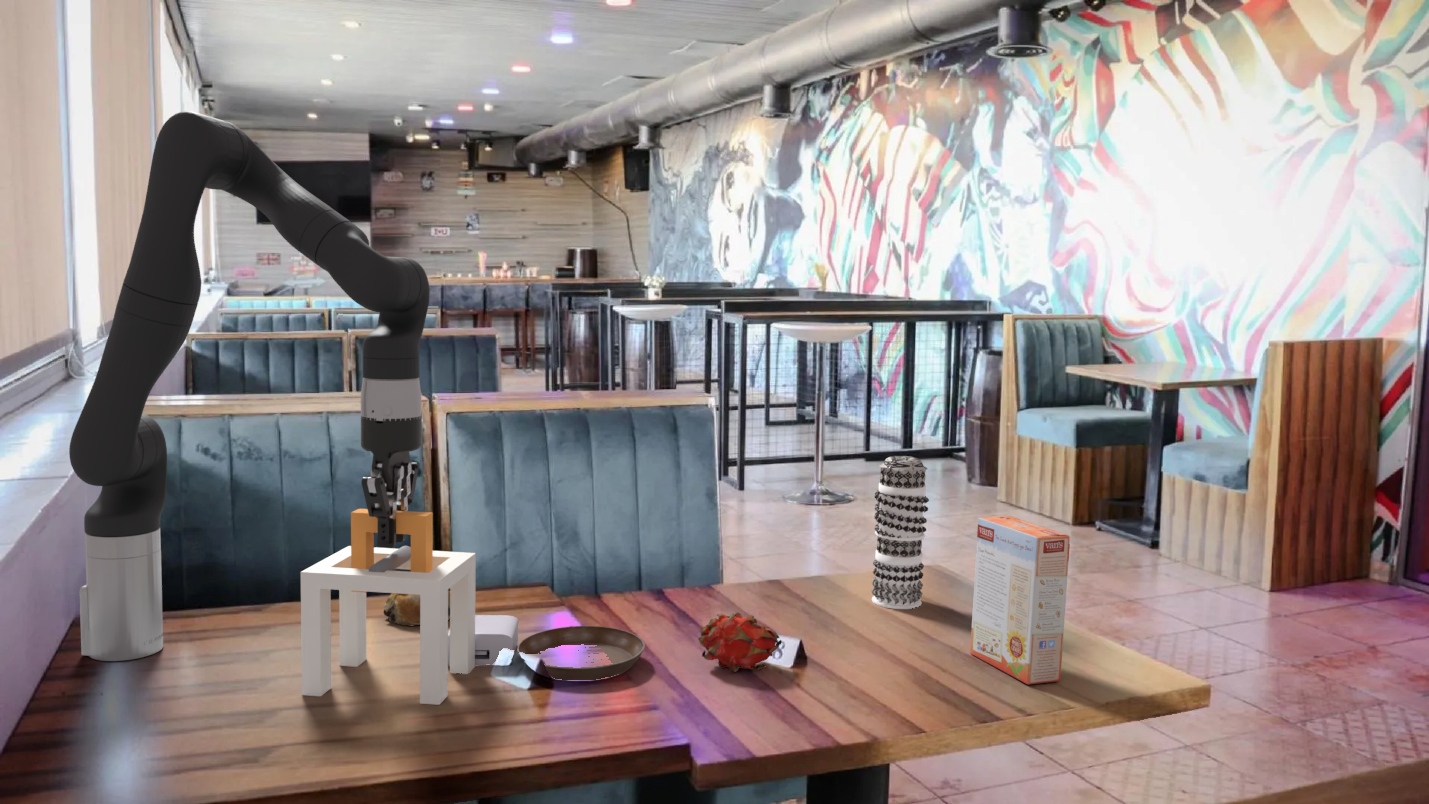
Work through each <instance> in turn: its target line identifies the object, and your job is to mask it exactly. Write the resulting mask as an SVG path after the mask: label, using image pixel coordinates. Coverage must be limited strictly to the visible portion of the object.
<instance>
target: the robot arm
mask: <svg viewBox="0 0 1429 804" xmlns="http://www.w3.org/2000/svg"><path fill="white" fill-rule="evenodd" d="M154 144H155V145H154V149H153V153H152V160H151V166H150V171H149V176H148V177H149V178H148V182H147V188H146V190H147V191H146V194H145V201H144V205H143V209H142V210H143V211H142V215H141V219H140V223H139V226H138V230H137V235H136V238H135V242H134V246H133V250H132V252H131V253H132V254H131V258H130V261H129V264H128V268H127V271H126V273H125V276H124V279H123V283H122V286H121V289H120V293H119V296H118V299H117V304H116V306H115V311H114V313H113V314H114V315H113V319H112V324H111V327H110V329H109V333H108V336H107V340H106V343H105V346H104V349H103V353H102V355H101V356H102V357H101V358H100V363H99V367H98V369H97V372H96V375H95V379H94V381H93V384H92V386H91V389H90V391H89V392H88V396H87V398H86V400H85V403H84V406H83V408H82V411H81V412H80V415H79V417H78V420H77V422H76V424H75V427H74V428H73V429H74V430H73V432H72V435H71V437H70V442H69V448H68V449H69V454H68V455H69V461H70V465H71V468H72V469H73V472H74V473H75V475H76V476H77V478H79V479H80V480H81V481H82V482H84V483H86V484H88V485H91V486H95V487H101V490H100V493H99V495H98V497H97V499H96V500H95V502H94V503H93V504H92V505H91V506H90V507H89V508H88V509H87V510H86V512H85V514H84V517H83V519H84V520H83V521H84V523H83V525H84V528H83V530H84V549H85V550H84V551H85V581H86V582H85V583H86V584H84V585H83V586H80V588H79V618H80V643H81V645H80V650H81V655H82V656H88V657H89V658H91V659H93V660H96V661H102V662H121V661H123V662H124V661H131V660H135V659H141V658H144V657H145V658H146V657H149V656H151V655H155V654H156V653H158V652H160V651H161V650H162V649H163V647H164V632H163V631H164V630H163V628H164V627H163V620H164V619H163V589H162V588H163V585H162V582H163V581H162V578H163V577H162V547H161V544H162V543H161V540H162V538H161V516H162V513H163V511H164V509H165V505H166V500H167V481H168V480H167V478H168V477H167V476H168V475H167V474H168V449H167V442H166V437H165V434H164V432H163V430H162V428H161V426H160V425H159V423H158V422H157V420H155V419H154V418H152V417H151V416H150V415H148V414H146V413H144V409H145V406H146V402H147V400H148V398H149V395H150V393H151V391H152V390H153V388H154V386H155V385H156V383H157V382H158V380H159V379H160V377H161V375H163V373H164V371H166V369H167V368H168V367H169V365H170V364H171V362H172V361H173V359H174V358H175V357H176V355H177V354H178V353H179V352H180V350H181V348H182V346H183V345H184V343H185V341H186V340H187V337H188V335H189V332H190V329H191V328H192V324H193V321H194V318H195V314H196V311H197V307H198V304H199V301H200V297H201V291H202V278H201V277H202V275H201V267H200V263H199V260H198V259H199V258H198V254H197V250H196V249H197V248H196V243H195V224H196V223H195V222H196V217H197V214H198V210H199V206H200V203H201V200H202V196H203V194H204V192H205V189H209V190H219V191H220V190H221V191H223V192H226V193H227V194H228V193H229V194H230V195H232V196H235V197H236V198H239V199H240V200H242V201H245V202H247V203H248V204H250V205H251V206H253V207H255V208H256V209H257V210H259V212H261V213H262V214H263V215H265V217H266V218H267V220H269V221H270V222H271V224H272V225H273V226H274V228H275V229H276V231H277V232H278V233H279V235H281V237H282V238H283V239H284V240H285V241H286V242H287V243H288V244H289V245H290V246H292V247H293V248H294V249H295V250H296V251H297V252H299V253H300V254H301V255H303V256H304V257H306V258H307V259H309V260H310V261H311V262H313V263H314V264H315V265H316V266H318V267H319V268H321V269H322V270H324V271H326V272H327V273H328V274H329V275H330V277H331V278H332V279H333V281H334V282H335V283H336V284H337V285H338V286H339V287H340V288H341V290H342V291H343V292H344V293H345V295H347V296H348V298H350V299H351V300H352V301H353V302H355V303H356V304H358V305H359V306H361V307H362V308H364V309H367V310H368V311H371V312H375V313H379V314H378V320H377V324H376V325H377V326H376V328H375V329H374V330H373V331H371V332H370V333H367V335H366V336H365V337H364V339H363V343H362V385H361V390H360V447H361V449H362V450H364V451H367V452H371V454H372V455H373V456H372V461H371V468H370V476H363V477H362V479H361V487H362V491H363V496H364V500H365V505H366V509H368V513H369V516H370V517H375V518H376V519H378V533H377V546H378V548H395V546H396V545H397V543H402V542H403V541H405V540H406V534H396V519H395V518H396V511H409V507H410V506H412V505H413V502H414V497H415V492H416V485H417V479H418V474H419V469H420V465H419V463H418V462H413V461H411V455H410V452H414V451H417V450H419V449H421V447H422V390H421V381H420V343H421V340H422V336H423V332H424V328H425V323H426V320H427V315H428V311H429V310H428V309H429V303H430V283H429V279H428V275H427V272H426V271H425V269H424V268H423V266H422V265H420V263H419V262H418V261H416V260H414V259H412V258H408V257H403V256H402V257H401V256H385V255H383V254H382V253H380V252H378V251H376V250H375V249H374V248H373V247H371V246H370V241H369V239H368V236H367V234H366V233H365V232H364V231H363V230H362V229H361V228H360V227H358V226H357V225H356V224H354V223H353V222H352V221H351V220H349V219H348V218H347V217H345V216H344V215H342V214H341V213H339V212H338V211H336V209H333V208H332V207H331V206H330V205H328V204H327V203H325V202H324V201H323V200H321V199H320V198H318V197H317V196H315V195H314V194H313V193H311V192H310V191H308V190H307V189H306V188H304V187H303V186H302V185H300V184H299V183H298V182H296V181H295V180H294V179H293V178H292V177H290V175H288V174H287V173H286V172H285V171H284V170H283V169H282V168H280V167H279V166H278V164H277V163H275V162H274V161H273V160H272V159H271V158H270V157H269V155H267V154H266V153H265V152H264V150H263V149H261V147H260V146H259V145H258V144H257V143H256V142H254V139H252V138H250V136H249V135H248V134H247V133H246V132H245V131H244V130H242V129H241V128H240V127H238V126H237V125H235V124H234V123H232V122H229V121H226V120H222V119H219V118H216V117H213V116H210V115H206V114H203V113H199V112H195V111H189V110H187V111H186V110H184V111H180V112H177V113H175V114H173V115H172V116H170V117H169V118H168V119H167V120H166V121H165V123H164V124H163V125H162V127H161V129H160V130H159V133H158V135H157V138H156V141H155V143H154Z"/></svg>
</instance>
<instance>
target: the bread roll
mask: <svg viewBox="0 0 1429 804" xmlns="http://www.w3.org/2000/svg"><path fill="white" fill-rule="evenodd" d="M449 590H450V589H448V620H449V619H450V591H449ZM383 608H384V609H383V615H384V616H385V617H388V621H389V622H392V623H393V622H395V623H394V624H396V623H397V625H400V624H401V626H406V625H420V596H418V595H411V594H400V593H390V595H389V596H387V600H386V601H385V604H384V606H383ZM449 621H450V620H449Z"/></svg>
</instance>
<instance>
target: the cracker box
mask: <svg viewBox="0 0 1429 804" xmlns="http://www.w3.org/2000/svg"><path fill="white" fill-rule="evenodd" d="M976 533H977V535H976V550H975V551H976V552H975V563H974V564H975V567H974V568H975V569H974V582H973V583H974V584H973V600H972V613H971V614H972V617H971V618H972V619H971V633H970V649H969V650H970V651H969V653H970V654H971V655H972V656H974V657H976V658H978V659H980V660H981V661H983V662H985V663H987V664H989V665H991V666H993V667H995V668H996V669H998V670H1000V671H1002V672H1004V673H1005V674H1008V675H1009V676H1011V677H1013V678H1015V679H1017V680H1019V681H1021V683H1024V684H1026V685H1035V684H1036V685H1037V684H1045V683H1054V682H1060V681H1061V676H1062V674H1061V673H1062V662H1063V647H1064V646H1063V645H1064V635H1065V634H1064V631H1065V629H1064V628H1065V620H1066V618H1065V617H1066V616H1065V615H1066V603H1067V591H1068V590H1067V588H1068V587H1067V586H1068V574H1069V573H1068V572H1069V559H1070V548H1071V547H1070V546H1071V544H1070V543H1071V536H1070V535H1069V534H1065V533H1063V532H1060V531H1056V530H1054V529H1050V528H1047V527H1044V526H1041V525H1037V524H1034V523H1032V522H1029V521H1026V520H1023V519H1020V518H1016V517H1013V516H1010V515H997V516H996V515H994V516H993V515H992V516H981V517H978V519H977V532H976Z"/></svg>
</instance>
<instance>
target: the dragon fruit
mask: <svg viewBox="0 0 1429 804" xmlns="http://www.w3.org/2000/svg"><path fill="white" fill-rule="evenodd" d="M716 616H717V618H716V617H715V618H711V619H710V620H709V622H708V624H706V625H705V626H704V627H702V628H701V627H700V629H701V631H700V635H701V636H700V637H698V641H699V644H700V645H701V647H703V648H705V650H706V651H707V652H706V651H705V650H703V651H702V654H701V657H703V658H704V659H705V660H706V661H714V660H717V661H718V662H717V663H718V666H719V667H720V668H721V669H724V668H726V667H727V668H728V669H729V670H730V671H731V672H732V673H736V672H738V670H739V669H750V670H751V671H760V670H762V669H763V668H765V667H766V666H767V665H766V664H759V663H762V662H765V661H767V660H768V659H769V657H772V656H773V653H774V652H775V651H776V650H777V649H779V647H780V645H781V644H782V640H781V639H780V636H779V635H778V633H777V631H776V630H773V629H771V628H768V627H767V628H766V626H765V625H762V624H761V625H760V624H758V619H756V618H755V616H754V615H753V614H749V615H748V616H747V617H743V616H742V614H741V612H736V614H735V613H734V612H732V613H731V614H729V616H727V615H726V614H724V613H717V614H716ZM778 639H780V640H778Z"/></svg>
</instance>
